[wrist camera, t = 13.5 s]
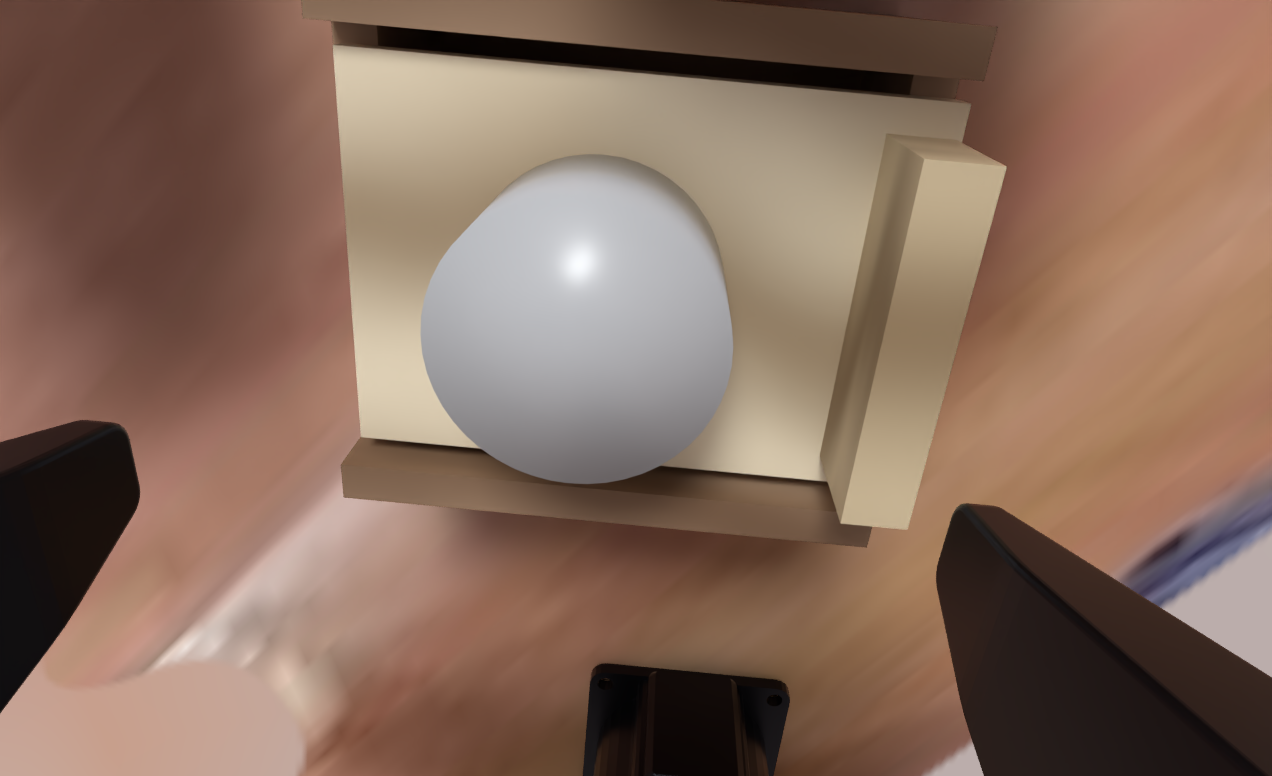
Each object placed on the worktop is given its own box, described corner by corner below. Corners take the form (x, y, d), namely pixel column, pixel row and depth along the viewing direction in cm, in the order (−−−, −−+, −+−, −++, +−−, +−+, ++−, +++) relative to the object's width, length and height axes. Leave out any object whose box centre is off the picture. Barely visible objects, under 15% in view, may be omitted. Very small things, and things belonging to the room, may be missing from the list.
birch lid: (870, 470, 18) (905, 557, 15) (370, 423, 18) (315, 500, 15) (960, 99, 14) (1025, 125, 12) (345, 42, 14) (269, 54, 12)
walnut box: (820, 411, 23) (867, 547, 17) (425, 373, 23) (343, 497, 17) (900, 16, 18) (997, 26, 13) (412, -29, 19) (298, -37, 13)
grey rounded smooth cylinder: (740, 167, 14) (754, 210, 12) (707, 410, 17) (712, 497, 14) (468, 141, 15) (415, 177, 12) (469, 387, 17) (424, 468, 14)
